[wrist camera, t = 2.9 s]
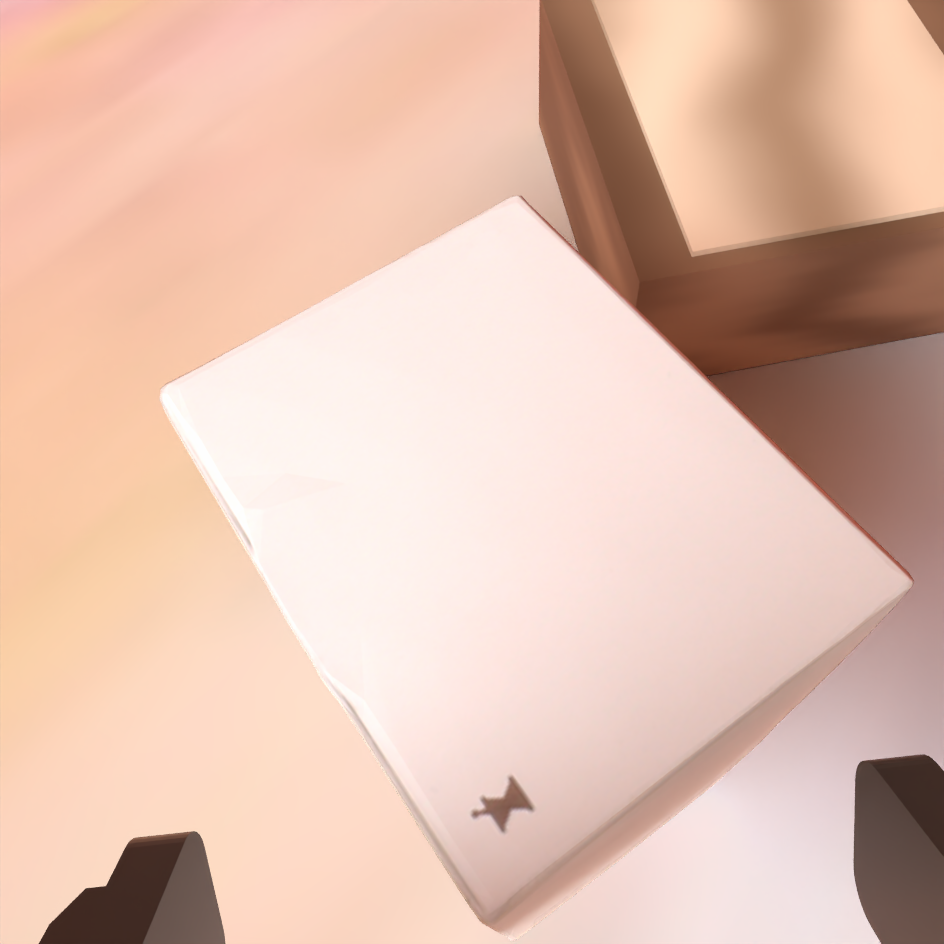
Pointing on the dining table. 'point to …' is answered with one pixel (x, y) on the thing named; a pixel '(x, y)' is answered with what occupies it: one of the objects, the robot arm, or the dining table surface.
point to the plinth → (754, 167)
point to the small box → (527, 550)
